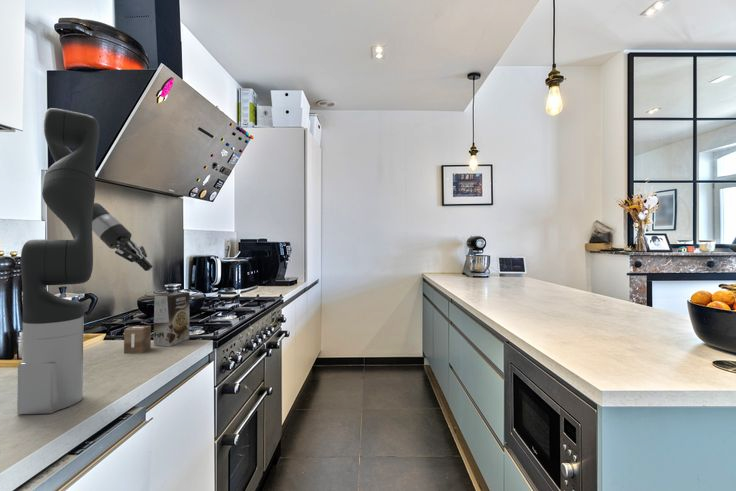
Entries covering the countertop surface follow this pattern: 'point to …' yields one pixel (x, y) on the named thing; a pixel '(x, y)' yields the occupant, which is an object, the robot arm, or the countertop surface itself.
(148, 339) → the numbered block
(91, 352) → the countertop surface
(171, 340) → the coffee box
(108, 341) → the countertop surface
